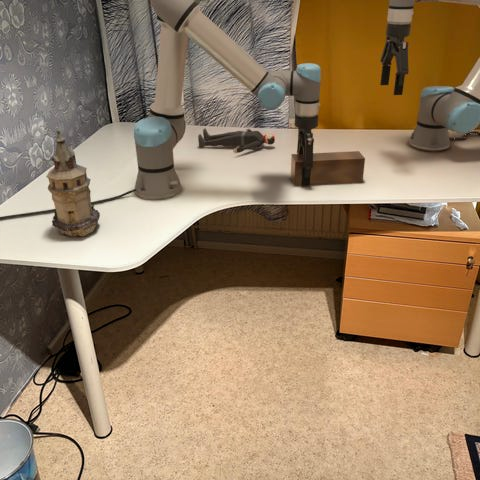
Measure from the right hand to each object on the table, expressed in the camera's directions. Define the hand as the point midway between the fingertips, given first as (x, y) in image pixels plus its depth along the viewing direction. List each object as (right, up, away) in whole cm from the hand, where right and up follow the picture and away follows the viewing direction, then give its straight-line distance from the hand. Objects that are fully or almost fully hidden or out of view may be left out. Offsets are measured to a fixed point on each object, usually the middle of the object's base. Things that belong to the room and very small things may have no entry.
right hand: (390, 89), depth 182 cm
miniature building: (-98, -48, -26) cm, 112 cm away
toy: (-52, -13, +33) cm, 63 cm away
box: (-22, -31, +2) cm, 37 cm away
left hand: (-29, -31, +1) cm, 42 cm away
